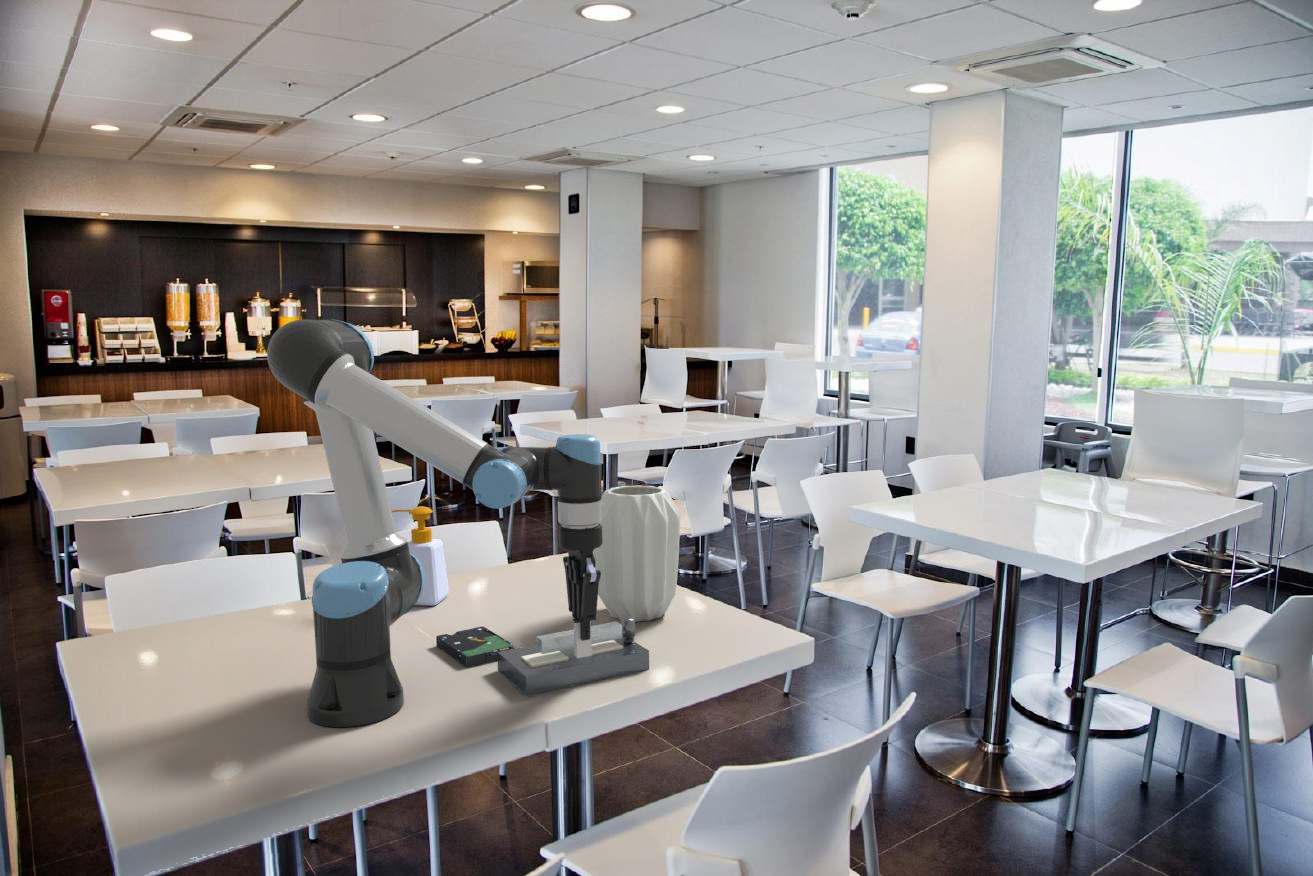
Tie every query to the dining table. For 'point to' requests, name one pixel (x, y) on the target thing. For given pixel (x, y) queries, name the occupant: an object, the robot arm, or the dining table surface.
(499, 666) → the plate
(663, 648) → the dining table surface
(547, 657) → the label
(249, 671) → the dining table surface
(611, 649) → the label
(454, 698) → the dining table surface
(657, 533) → the vase
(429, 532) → the soap bottle
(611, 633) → the gray rectangular bar
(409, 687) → the dining table surface
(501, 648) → the disk drive
